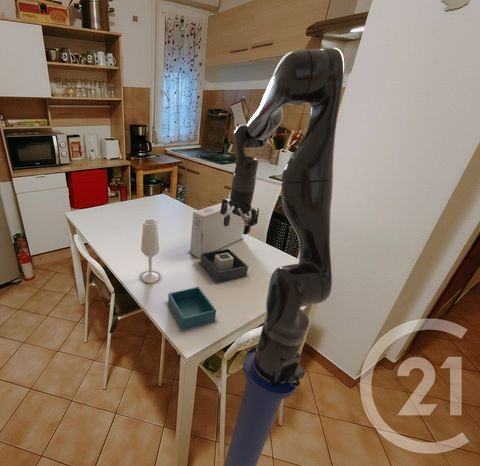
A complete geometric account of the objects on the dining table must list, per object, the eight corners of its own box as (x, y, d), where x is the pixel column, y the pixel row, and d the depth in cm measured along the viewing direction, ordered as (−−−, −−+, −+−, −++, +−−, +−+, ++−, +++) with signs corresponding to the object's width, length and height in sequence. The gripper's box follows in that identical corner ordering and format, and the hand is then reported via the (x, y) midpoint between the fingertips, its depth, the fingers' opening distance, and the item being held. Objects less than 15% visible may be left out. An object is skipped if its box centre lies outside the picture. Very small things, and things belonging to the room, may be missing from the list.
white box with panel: (232, 269, 107) (234, 257, 104) (219, 272, 105) (220, 260, 103) (226, 263, 111) (227, 252, 108) (213, 266, 109) (215, 254, 106)
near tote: (214, 321, 83) (216, 310, 81) (182, 330, 80) (183, 319, 78) (197, 296, 93) (198, 286, 91) (168, 303, 90) (168, 293, 88)
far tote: (246, 275, 104) (248, 266, 102) (217, 282, 100) (218, 272, 98) (227, 257, 116) (228, 248, 114) (200, 262, 112) (201, 253, 110)
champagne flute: (159, 272, 105) (160, 218, 94) (158, 283, 99) (158, 226, 88) (143, 271, 106) (142, 217, 95) (140, 282, 100) (138, 225, 89)
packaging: (232, 233, 136) (238, 197, 127) (242, 238, 132) (249, 201, 122) (189, 252, 120) (192, 211, 110) (199, 258, 115) (203, 216, 106)
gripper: (219, 184, 92) (214, 225, 100) (255, 195, 83) (246, 240, 90) (232, 180, 96) (226, 220, 104) (267, 190, 87) (258, 233, 94)
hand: (235, 229), depth 97 cm, fingers open, 8 cm apart
